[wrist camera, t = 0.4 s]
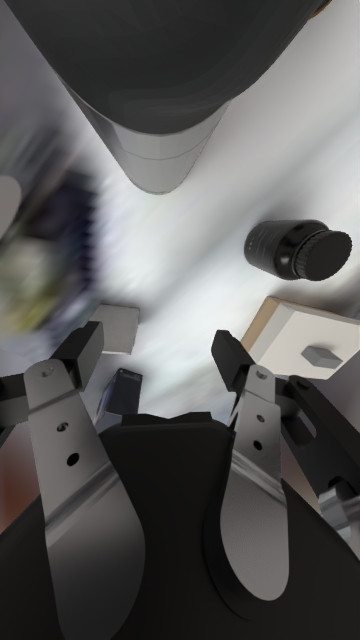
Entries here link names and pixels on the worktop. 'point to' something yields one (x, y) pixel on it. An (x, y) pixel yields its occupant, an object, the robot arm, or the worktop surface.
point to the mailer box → (265, 320)
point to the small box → (118, 399)
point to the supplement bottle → (297, 249)
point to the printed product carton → (117, 327)
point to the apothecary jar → (321, 7)
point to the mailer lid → (306, 342)
